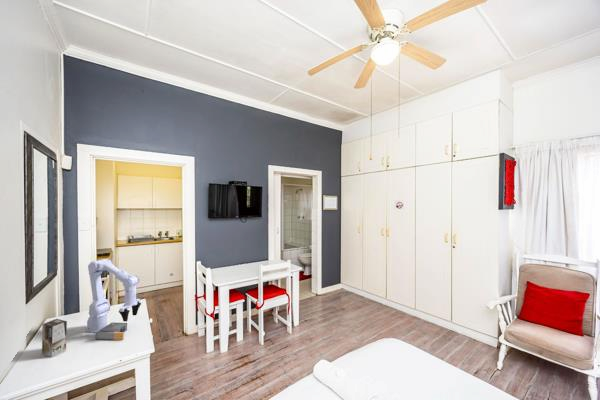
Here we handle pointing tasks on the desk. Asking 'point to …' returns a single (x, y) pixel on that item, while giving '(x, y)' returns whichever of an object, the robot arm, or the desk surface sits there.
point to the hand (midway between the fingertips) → (130, 318)
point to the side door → (110, 335)
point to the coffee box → (54, 337)
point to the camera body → (114, 327)
